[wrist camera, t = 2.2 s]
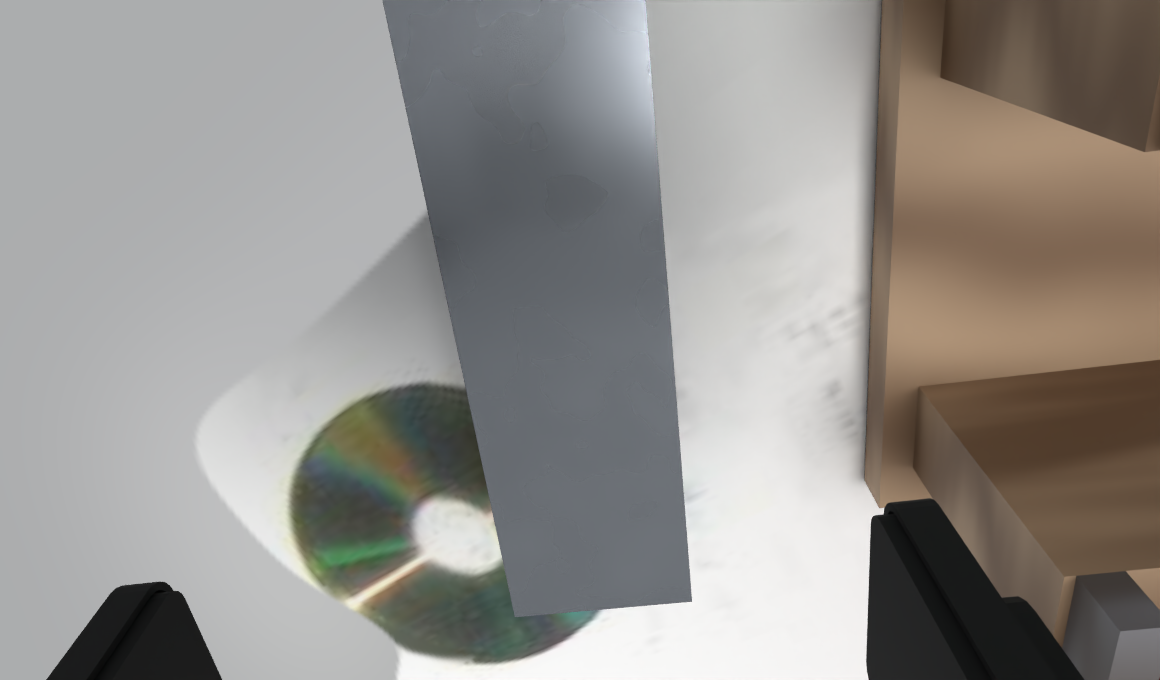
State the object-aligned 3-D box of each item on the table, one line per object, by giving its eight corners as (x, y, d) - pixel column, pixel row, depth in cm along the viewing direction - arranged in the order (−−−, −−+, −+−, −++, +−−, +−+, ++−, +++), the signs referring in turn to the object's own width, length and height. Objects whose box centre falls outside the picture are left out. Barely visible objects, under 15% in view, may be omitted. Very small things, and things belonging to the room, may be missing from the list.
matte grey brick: (420, -95, 20) (358, -110, 14) (619, -123, 19) (634, -150, 14) (528, 486, 28) (514, 616, 22) (670, 472, 27) (691, 601, 22)
